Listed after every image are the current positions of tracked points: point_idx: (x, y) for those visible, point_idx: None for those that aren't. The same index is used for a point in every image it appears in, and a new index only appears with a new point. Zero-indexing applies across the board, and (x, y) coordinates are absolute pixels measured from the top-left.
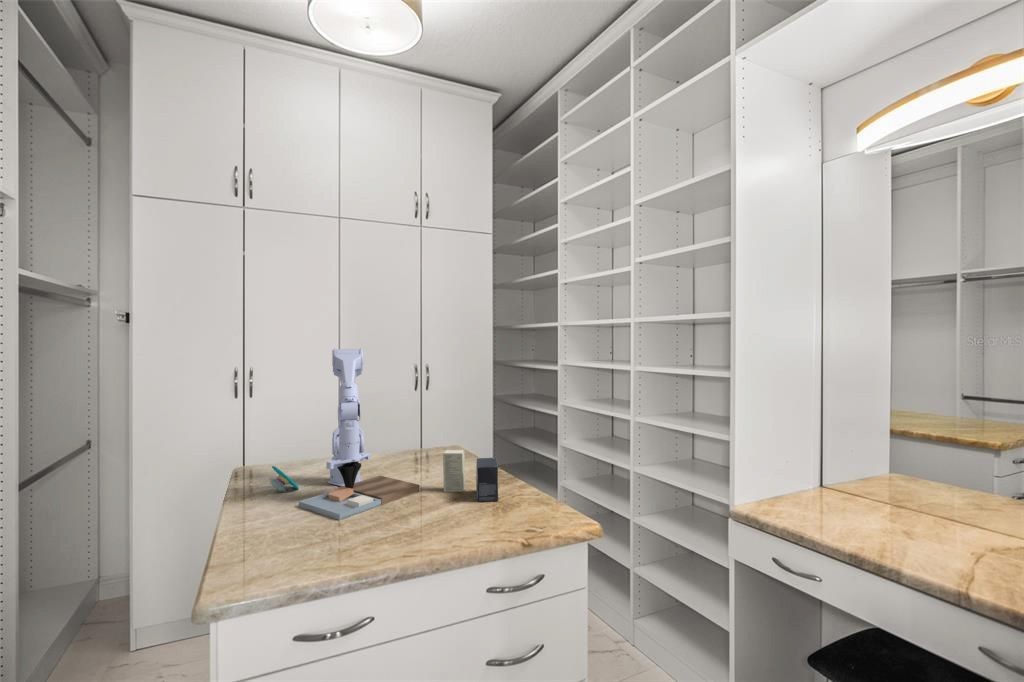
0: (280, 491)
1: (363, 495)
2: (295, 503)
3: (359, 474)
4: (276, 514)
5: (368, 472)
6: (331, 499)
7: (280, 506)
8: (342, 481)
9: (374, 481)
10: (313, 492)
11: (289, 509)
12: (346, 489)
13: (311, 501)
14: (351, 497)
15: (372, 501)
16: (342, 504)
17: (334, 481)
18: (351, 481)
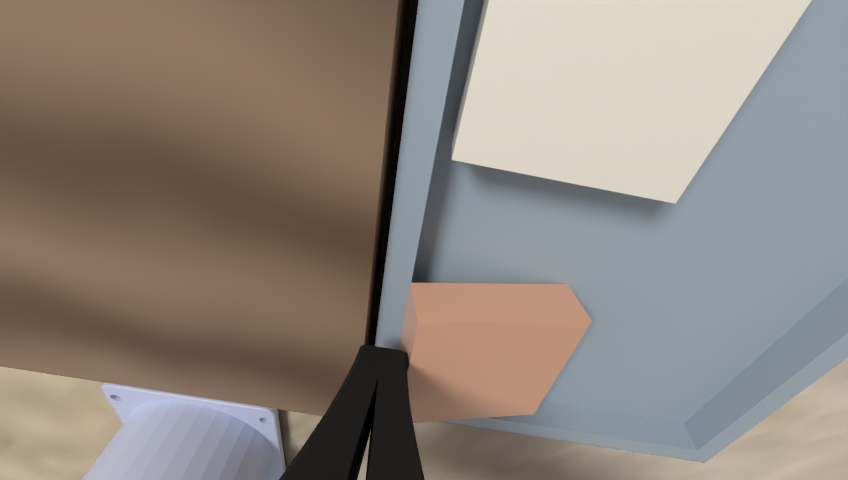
0: None
1: (412, 159)
2: (625, 455)
3: (110, 451)
4: (841, 443)
5: (18, 435)
6: None
7: (686, 476)
8: (255, 456)
9: (65, 312)
10: (431, 468)
11: (740, 436)
12: (443, 362)
13: (624, 419)
14: (425, 272)
15: None
16: (634, 227)
17: (264, 476)
18: (386, 418)
